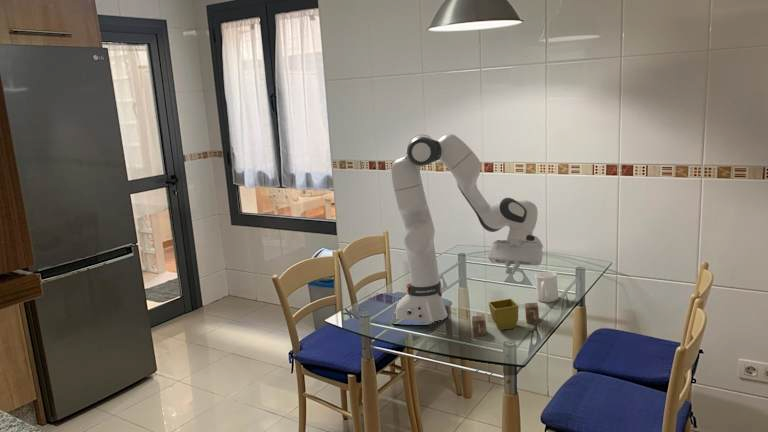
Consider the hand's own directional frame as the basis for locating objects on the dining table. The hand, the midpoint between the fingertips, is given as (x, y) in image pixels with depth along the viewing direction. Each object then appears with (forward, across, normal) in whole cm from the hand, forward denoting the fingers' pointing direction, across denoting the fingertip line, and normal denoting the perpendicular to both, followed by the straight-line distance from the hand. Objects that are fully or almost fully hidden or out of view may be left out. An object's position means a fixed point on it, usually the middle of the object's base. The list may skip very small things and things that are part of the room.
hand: (509, 273), depth 213 cm
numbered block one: (+24, -6, +2) cm, 25 cm away
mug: (-3, +3, +29) cm, 29 cm away
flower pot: (+18, 0, +8) cm, 20 cm away
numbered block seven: (+12, +6, +14) cm, 19 cm away
